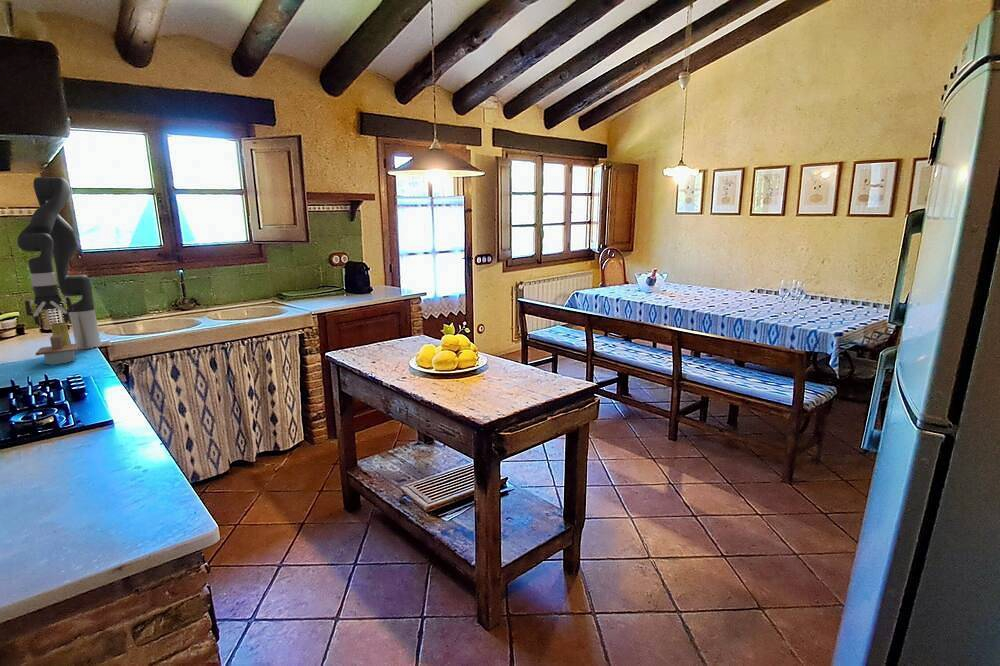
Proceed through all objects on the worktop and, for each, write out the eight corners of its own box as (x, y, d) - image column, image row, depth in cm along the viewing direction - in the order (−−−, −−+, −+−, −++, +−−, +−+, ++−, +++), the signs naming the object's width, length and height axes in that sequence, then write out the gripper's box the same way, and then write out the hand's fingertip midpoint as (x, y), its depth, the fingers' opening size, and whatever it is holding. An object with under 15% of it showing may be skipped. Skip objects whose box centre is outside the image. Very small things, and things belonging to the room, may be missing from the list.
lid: (41, 349, 215) (38, 335, 213) (79, 345, 221) (77, 331, 220) (35, 355, 204) (32, 341, 203) (76, 350, 211) (73, 336, 210)
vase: (63, 358, 220) (57, 325, 217) (52, 357, 221) (45, 324, 218) (77, 354, 226) (71, 322, 223) (66, 354, 227) (59, 322, 224)
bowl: (48, 361, 215) (46, 349, 214) (76, 357, 220) (74, 346, 219) (44, 366, 208) (42, 353, 207) (73, 362, 212) (71, 350, 211)
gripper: (68, 281, 214) (76, 320, 217) (23, 284, 206) (31, 324, 210) (66, 283, 208) (74, 323, 211) (19, 286, 200) (28, 327, 204)
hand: (53, 324), depth 211 cm, fingers open, 8 cm apart
